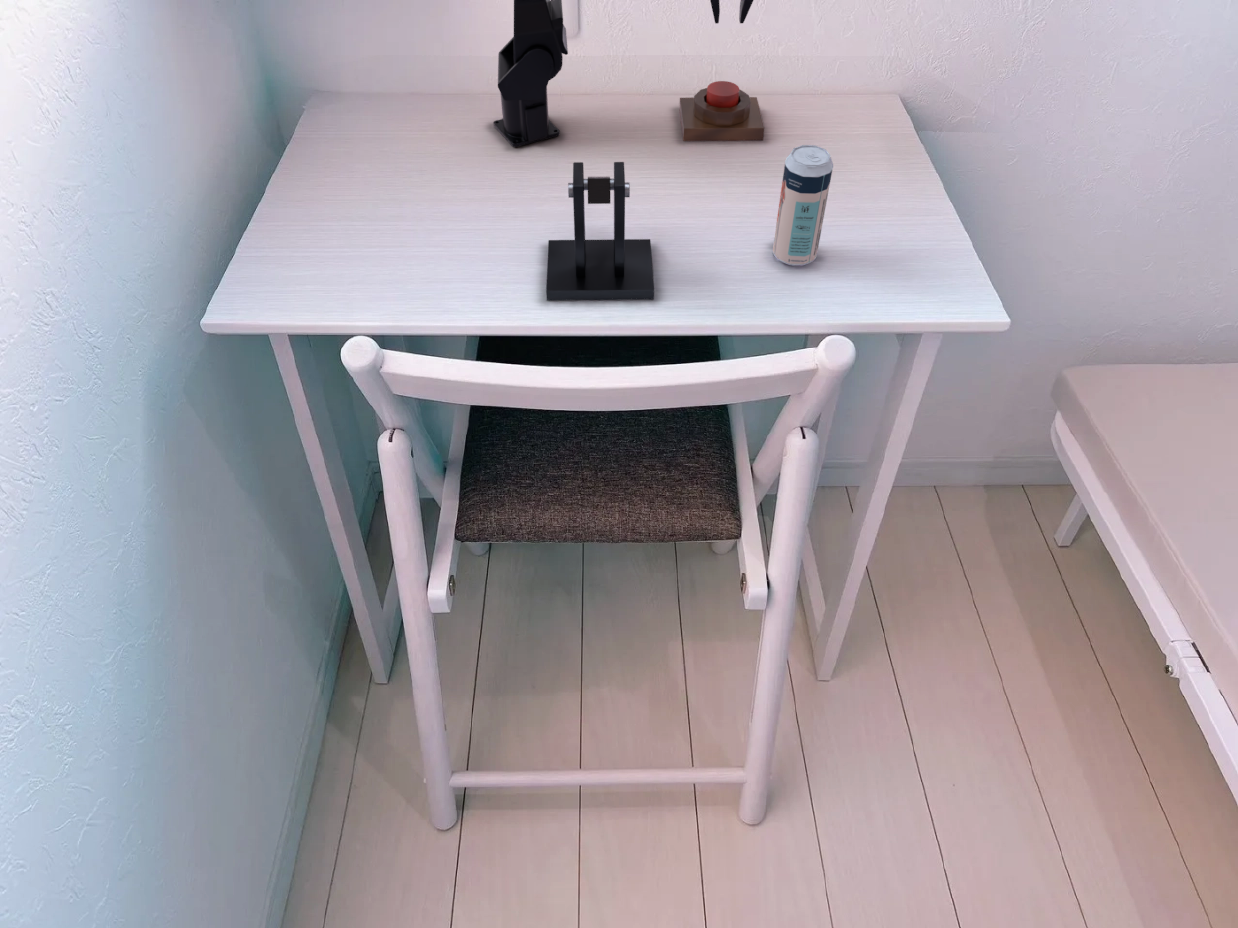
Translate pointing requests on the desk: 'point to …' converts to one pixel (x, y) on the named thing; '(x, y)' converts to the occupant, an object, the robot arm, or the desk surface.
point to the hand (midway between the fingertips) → (728, 22)
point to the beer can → (802, 204)
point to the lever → (598, 189)
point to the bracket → (599, 254)
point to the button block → (720, 119)
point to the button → (722, 94)
